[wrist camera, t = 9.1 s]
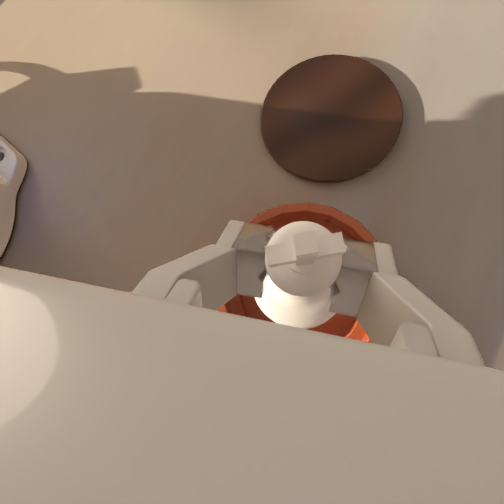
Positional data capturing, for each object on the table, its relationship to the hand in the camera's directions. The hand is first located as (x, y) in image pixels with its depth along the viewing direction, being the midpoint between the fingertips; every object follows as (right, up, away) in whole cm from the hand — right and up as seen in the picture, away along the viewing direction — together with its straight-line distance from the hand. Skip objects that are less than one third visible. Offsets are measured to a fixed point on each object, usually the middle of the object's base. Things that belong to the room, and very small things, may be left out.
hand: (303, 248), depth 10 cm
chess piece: (+1, -2, +6) cm, 6 cm away
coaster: (+4, +11, +14) cm, 18 cm away
